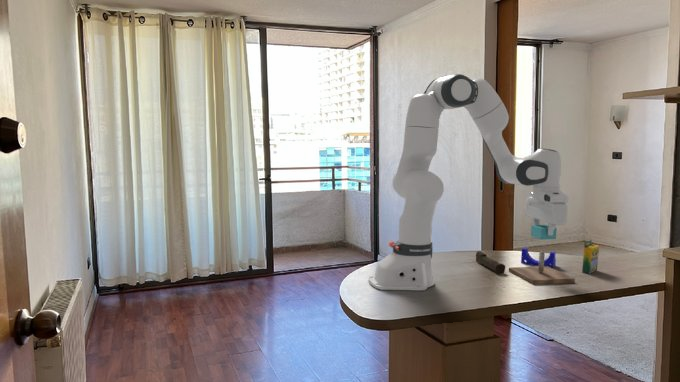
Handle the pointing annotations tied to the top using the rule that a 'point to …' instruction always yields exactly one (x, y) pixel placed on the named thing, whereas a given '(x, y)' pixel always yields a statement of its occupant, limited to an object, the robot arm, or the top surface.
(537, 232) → the collar
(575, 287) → the top surface
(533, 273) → the post stand
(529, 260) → the blue curved cradle
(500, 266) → the dark brown rod
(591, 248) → the crayon box
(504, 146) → the robot arm
